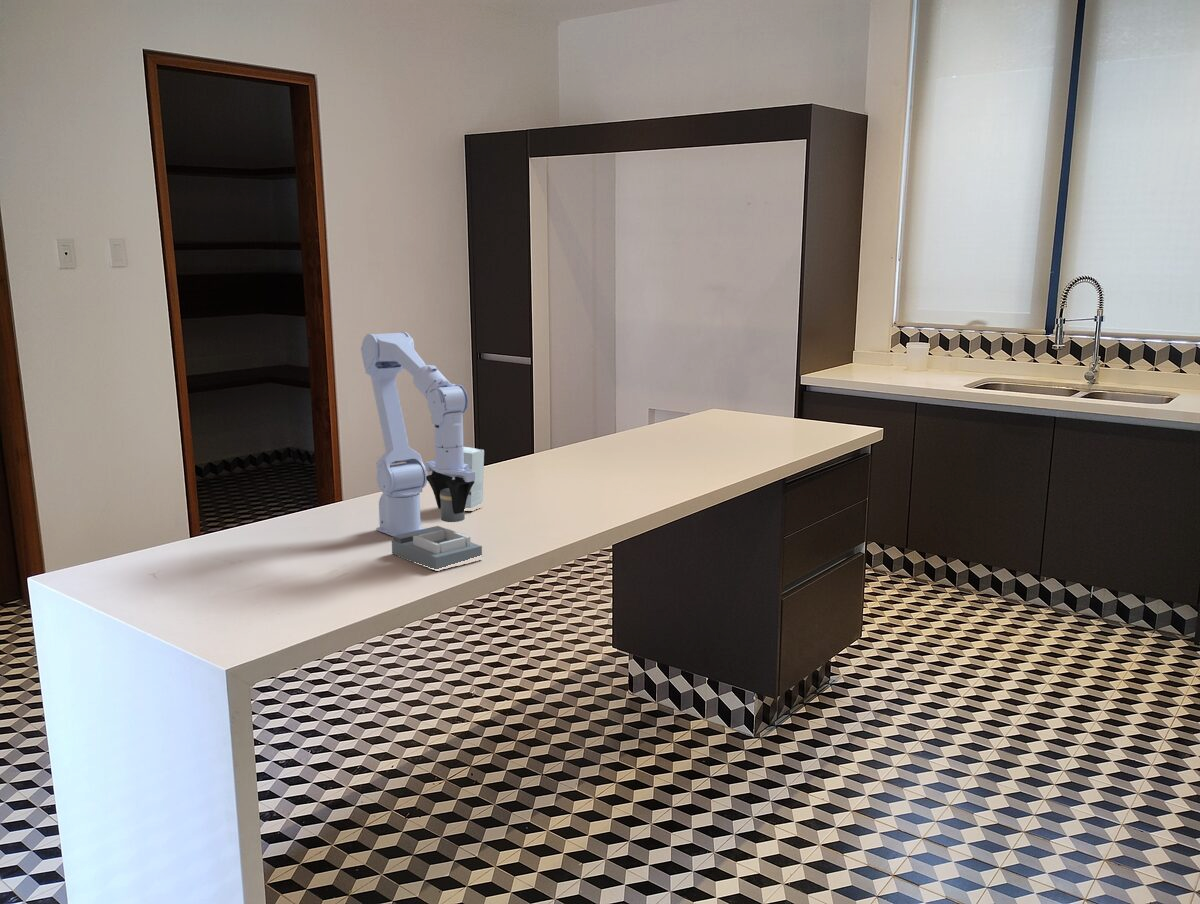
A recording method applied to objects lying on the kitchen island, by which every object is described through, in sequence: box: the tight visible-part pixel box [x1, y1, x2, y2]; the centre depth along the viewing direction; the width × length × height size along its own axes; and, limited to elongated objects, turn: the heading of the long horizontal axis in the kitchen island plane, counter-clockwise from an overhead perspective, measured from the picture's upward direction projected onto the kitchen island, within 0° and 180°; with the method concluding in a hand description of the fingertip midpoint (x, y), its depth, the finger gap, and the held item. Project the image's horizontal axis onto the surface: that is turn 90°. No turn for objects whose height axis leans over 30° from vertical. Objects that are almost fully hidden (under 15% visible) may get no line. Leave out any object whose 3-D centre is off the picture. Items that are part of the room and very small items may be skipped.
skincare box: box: [452, 446, 485, 508], centre depth 234 cm, size 8×6×15 cm
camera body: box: [391, 525, 483, 569], centre depth 197 cm, size 16×11×5 cm
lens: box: [440, 488, 466, 523], centre depth 199 cm, size 5×5×6 cm
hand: (451, 510), depth 199 cm, fingers closed on lens, 5 cm apart
